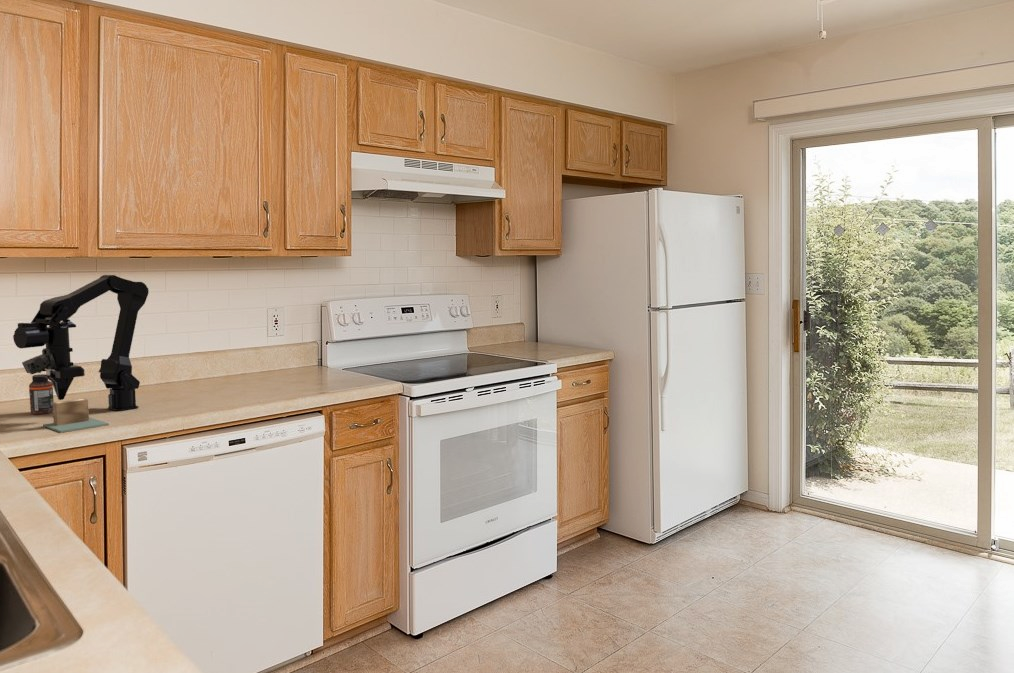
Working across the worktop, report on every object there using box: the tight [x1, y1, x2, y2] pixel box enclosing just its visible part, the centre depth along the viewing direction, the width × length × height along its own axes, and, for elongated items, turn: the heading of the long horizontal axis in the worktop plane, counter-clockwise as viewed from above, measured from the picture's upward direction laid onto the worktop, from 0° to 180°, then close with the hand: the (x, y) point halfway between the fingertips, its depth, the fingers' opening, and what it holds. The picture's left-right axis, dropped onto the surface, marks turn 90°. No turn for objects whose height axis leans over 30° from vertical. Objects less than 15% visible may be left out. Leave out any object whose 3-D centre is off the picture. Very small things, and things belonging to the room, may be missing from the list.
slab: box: [52, 398, 90, 426], centre depth 202 cm, size 8×2×6 cm, turn 142°
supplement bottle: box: [28, 373, 55, 415], centre depth 217 cm, size 6×6×11 cm
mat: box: [42, 417, 109, 434], centre depth 201 cm, size 12×12×1 cm
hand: (60, 399), depth 206 cm, fingers closed
